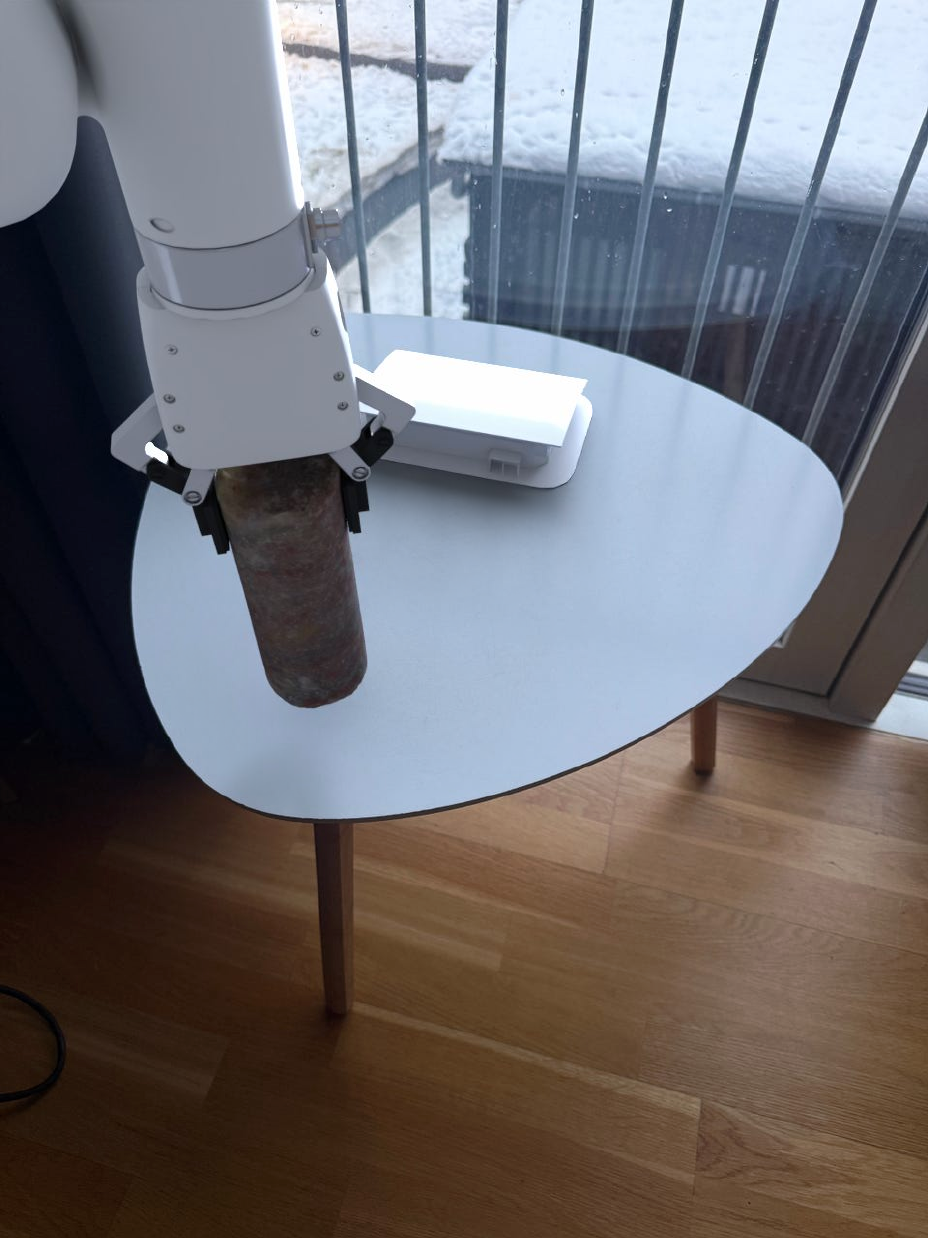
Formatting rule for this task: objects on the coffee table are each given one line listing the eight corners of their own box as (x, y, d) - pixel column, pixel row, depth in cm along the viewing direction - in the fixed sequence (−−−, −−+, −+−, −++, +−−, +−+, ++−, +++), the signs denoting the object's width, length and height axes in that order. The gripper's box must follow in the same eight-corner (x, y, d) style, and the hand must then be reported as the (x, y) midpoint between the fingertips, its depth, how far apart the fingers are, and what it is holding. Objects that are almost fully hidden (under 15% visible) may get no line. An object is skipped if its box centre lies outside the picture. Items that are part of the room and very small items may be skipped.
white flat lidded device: (568, 493, 84) (571, 460, 81) (335, 450, 88) (331, 418, 85) (598, 395, 94) (602, 363, 91) (387, 361, 98) (384, 329, 95)
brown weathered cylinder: (390, 687, 66) (361, 477, 50) (300, 737, 63) (241, 531, 48) (338, 621, 70) (297, 407, 54) (252, 665, 67) (183, 454, 52)
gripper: (402, 189, 45) (418, 467, 58) (35, 229, 43) (142, 507, 56) (430, 267, 40) (441, 549, 54) (20, 315, 38) (140, 597, 51)
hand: (288, 526), depth 55 cm, fingers closed on brown weathered cylinder, 7 cm apart
